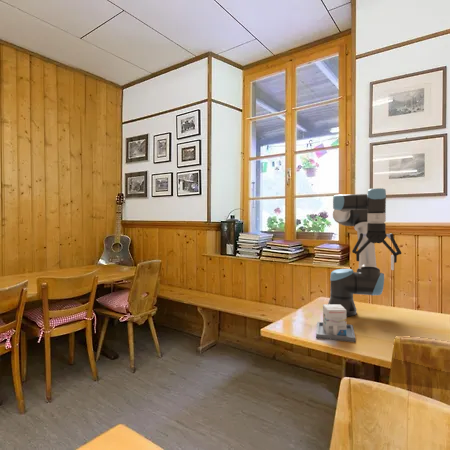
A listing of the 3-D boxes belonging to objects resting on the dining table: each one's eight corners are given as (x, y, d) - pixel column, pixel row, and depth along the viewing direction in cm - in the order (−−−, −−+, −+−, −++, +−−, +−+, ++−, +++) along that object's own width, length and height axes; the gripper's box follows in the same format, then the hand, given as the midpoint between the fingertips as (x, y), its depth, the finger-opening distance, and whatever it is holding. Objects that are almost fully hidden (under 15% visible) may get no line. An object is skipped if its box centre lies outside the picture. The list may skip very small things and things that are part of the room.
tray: (317, 325, 156) (317, 313, 156) (352, 328, 152) (352, 316, 151) (316, 338, 141) (316, 325, 141) (355, 342, 136) (355, 329, 136)
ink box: (341, 328, 150) (341, 303, 150) (346, 335, 142) (347, 309, 141) (322, 328, 151) (322, 303, 150) (327, 335, 142) (327, 309, 142)
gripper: (347, 223, 146) (347, 269, 147) (409, 223, 138) (408, 271, 140) (346, 222, 153) (346, 266, 154) (405, 222, 146) (404, 268, 147)
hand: (375, 269), depth 147 cm, fingers open, 13 cm apart
